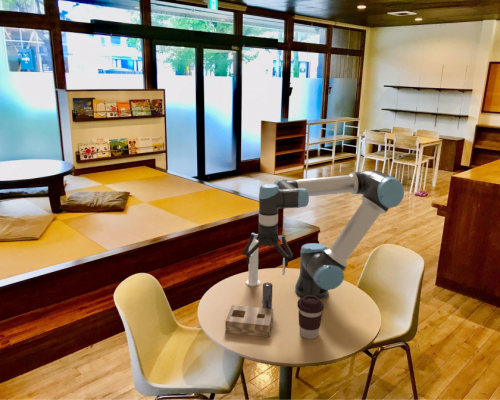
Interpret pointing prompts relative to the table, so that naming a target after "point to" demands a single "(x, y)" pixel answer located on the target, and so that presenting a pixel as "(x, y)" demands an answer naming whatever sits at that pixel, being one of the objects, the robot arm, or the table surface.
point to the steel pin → (267, 296)
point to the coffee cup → (310, 316)
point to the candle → (253, 267)
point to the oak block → (249, 320)
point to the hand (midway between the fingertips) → (267, 272)
